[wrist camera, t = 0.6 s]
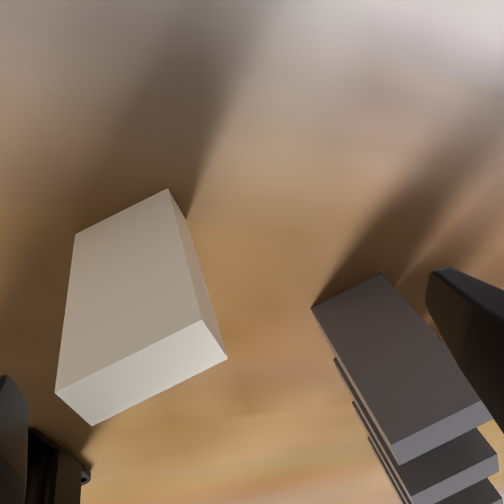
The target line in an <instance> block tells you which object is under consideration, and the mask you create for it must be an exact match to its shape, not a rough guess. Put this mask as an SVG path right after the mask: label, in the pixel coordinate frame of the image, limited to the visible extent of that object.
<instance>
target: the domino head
mask: <svg viewBox="0 0 504 504" xmlns="http://www.w3.org/2000/svg"><path fill="white" fill-rule="evenodd" d="M226 359H228V357H227V354H226V350H225V347H224V344H223V340H222V337H221V334H220V331H219V327H218V324H217V321H216V317H215V314H214V311H213V307H212V304H211V301H210V297H209V294H208V291H207V287H206V284H205V281H204V277H203V274H202V271H201V268H200V264H199V261H198V258H197V254H196V251H195V248H194V244H193V241H192V238H191V234H190V231H189V228H188V224H187V221H186V219H185V217H184V215H183V214H182V212H181V210H180V208H179V207H178V205H177V203H176V202H175V200H174V198H173V196H172V195H171V193H170V191H169V189H168V188H167V189H165V190H163V191H161V192H159V193H157V194H155V195H153V196H151V197H149V198H147V199H145V200H143V201H141V202H138V203H136V204H134V205H132V206H130V207H128V208H126V209H124V210H122V211H120V212H118V213H116V214H114V215H112V216H110V217H108V218H106V219H104V220H102V221H100V222H98V223H96V224H94V225H92V226H90V227H88V228H86V229H84V230H82V231H80V232H78V233H76V234H75V239H74V247H73V255H72V262H71V270H70V278H69V285H68V293H67V301H66V308H65V316H64V324H63V331H62V339H61V347H60V354H59V362H58V370H57V377H56V385H55V394H56V395H57V396H59V397H60V398H61V399H62V400H63V401H64V402H65V403H66V404H67V405H69V406H70V407H71V408H72V409H73V410H74V411H75V412H76V413H77V414H79V415H80V416H81V417H82V418H83V419H84V420H85V421H86V422H87V423H89V424H90V425H91V426H94V425H96V424H98V423H100V422H102V421H104V420H106V419H108V418H110V417H112V416H114V415H116V414H118V413H120V412H122V411H124V410H126V409H128V408H130V407H132V406H134V405H136V404H138V403H140V402H142V401H144V400H146V399H148V398H150V397H152V396H154V395H156V394H158V393H160V392H162V391H164V390H166V389H168V388H170V387H172V386H174V385H176V384H178V383H180V382H182V381H184V380H186V379H188V378H190V377H192V376H194V375H196V374H198V373H200V372H202V371H204V370H206V369H208V368H210V367H212V366H214V365H216V364H218V363H220V362H222V361H224V360H226Z"/></svg>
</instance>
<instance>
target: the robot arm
mask: <svg viewBox="0 0 504 504" xmlns="http://www.w3.org/2000/svg"><path fill="white" fill-rule="evenodd" d="M425 303H426V307H427V309H428V311H429V313H430V315H431V317H432V319H433V320H434V322H435V324H436V326H437V328H438V330H439V332H440V334H441V336H442V337H443V339H444V341H445V343H446V345H447V347H448V349H449V351H450V353H451V354H452V356H453V358H454V360H455V362H456V363H457V365H458V367H459V368H460V370H461V371H462V373H463V374H464V376H465V377H466V379H467V380H468V382H469V383H470V385H471V386H472V388H473V389H474V391H475V392H476V394H477V395H478V397H479V398H480V400H481V401H482V402H483V404H484V405H485V407H486V408H487V410H488V411H489V413H490V414H491V416H492V417H493V419H494V420H495V422H496V423H497V425H498V426H499V428H500V429H501V430H502V432H503V433H504V290H502V289H499V288H497V287H495V286H492V285H490V284H488V283H485V282H483V281H481V280H478V279H476V278H474V277H472V276H469V275H467V274H465V273H462V272H460V271H458V270H455V269H453V268H450V267H444V268H440V269H436V270H433V271H431V272H430V274H429V276H428V282H427V288H426V294H425ZM90 479H91V473H90V471H89V470H87V469H86V468H85V467H84V466H82V465H81V464H80V463H79V462H77V461H76V460H75V459H73V458H72V457H71V456H70V455H68V454H67V453H66V452H65V451H63V450H62V449H61V448H60V447H58V446H57V445H56V444H55V443H53V442H52V441H51V440H50V439H48V438H47V437H46V436H45V435H43V434H42V433H41V432H40V431H38V430H36V429H28V405H27V401H26V399H25V397H24V395H23V394H22V392H21V391H20V389H19V388H18V386H17V385H16V383H15V382H14V380H13V379H12V378H11V376H9V375H0V504H80V495H81V486H83V485H85V484H87V483H88V482H89V481H90Z"/></svg>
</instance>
